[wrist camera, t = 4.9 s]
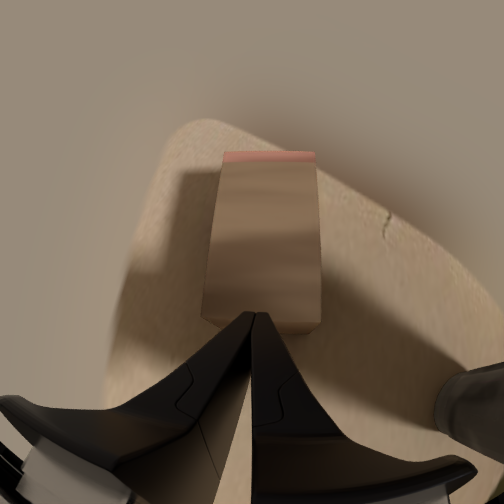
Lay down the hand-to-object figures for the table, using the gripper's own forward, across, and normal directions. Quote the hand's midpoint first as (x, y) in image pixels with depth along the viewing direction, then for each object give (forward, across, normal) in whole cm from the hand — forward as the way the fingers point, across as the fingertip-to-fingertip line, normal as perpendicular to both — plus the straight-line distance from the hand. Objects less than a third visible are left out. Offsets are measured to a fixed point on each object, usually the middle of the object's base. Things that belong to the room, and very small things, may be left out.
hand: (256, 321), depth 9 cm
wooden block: (+3, 0, +3) cm, 4 cm away
